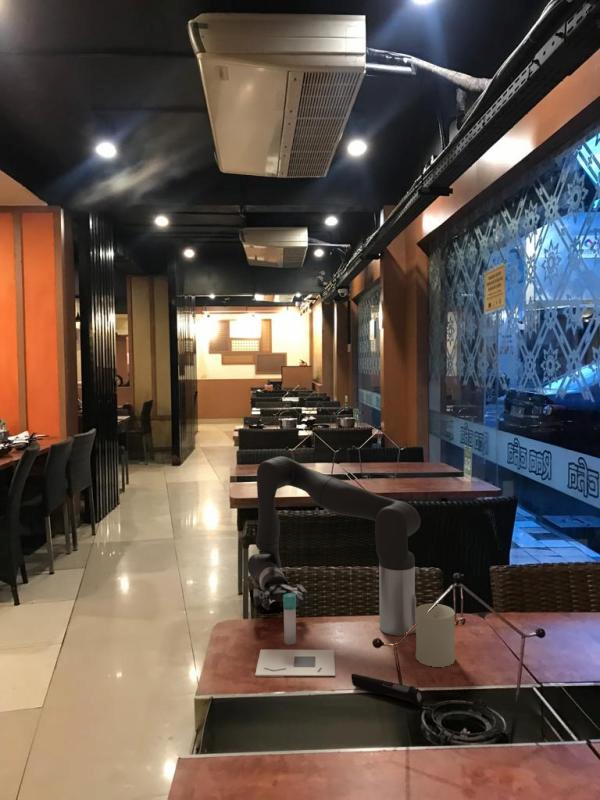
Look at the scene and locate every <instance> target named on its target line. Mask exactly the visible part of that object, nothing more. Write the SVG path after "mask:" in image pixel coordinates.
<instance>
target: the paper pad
mask: <svg viewBox="0 0 600 800" xmlns="http://www.w3.org/2000/svg"><path fill="white" fill-rule="evenodd" d="M259 650H260V651H259V655H258V656H259V657H258V660H257V665H256V669H255V670H256V671H255V675H254V676H255V677H284V676H335V677H336V671H335V670H336V667H335V650H334V649H259Z"/></svg>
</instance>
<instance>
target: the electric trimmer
mask: <svg viewBox="0 0 600 800" xmlns="http://www.w3.org/2000/svg"><path fill="white" fill-rule="evenodd" d="M350 675H351V683H352V685H353V686H354V687H356V688H358V689H361V690H364V691H365V692H368V693H371V694H375V695H377V696H382V695H385V696H389V697H391V698H394V699H395V698H396V699H399V700H403V701H405V702H410V703H412V705H413V706H414V707H417V706H421V704H422V702H423V700H424V696H423V693H422V692H421V690H420V689H419V687H417V688H415V687H414V685H409V686H408V685H404V684H400V683H396V682H392V681H387V680H384V679H380V678H379V679H378V678H374V677H370V676H367V675H366V676H365V675H361V674H357V673H351V674H350Z"/></svg>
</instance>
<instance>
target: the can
mask: <svg viewBox="0 0 600 800" xmlns="http://www.w3.org/2000/svg"><path fill="white" fill-rule="evenodd" d="M434 604H435V603H424V604H420V605H419V606H416V624H417V625H416V633H415V655H414V656H415V659H416V660H418V661H419V662H418V661H417V662H418V663H420V664H421V663H422V665H423V664H425V665H424V666H426V665H428V666H427V667H429V666H432V667H431V668H435V667H442V668H446V667H445V666H448V667H450V666H452V665H453V664H454V663H455V662H454V661H456V657H455V618H456V617H455V615H456V612H455V610H454V609H453V608H452V607H450V606H448V605H444V604H441V603H436V604H437V606H435V607H434V608H433V609H432V610H431V611H430V612H428V610H429V609H430V608H431V607H432V606H433V605H434ZM427 612H428V613H427ZM451 664H452V665H451ZM449 665H450V666H449Z"/></svg>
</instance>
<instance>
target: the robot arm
mask: <svg viewBox="0 0 600 800" xmlns="http://www.w3.org/2000/svg"><path fill="white" fill-rule="evenodd" d="M286 486H287V487H294V488H296V489H298V490H301V491H304V492H305V493H306V494H308V496H309V497H310V499H311V501H313V503H315V505H316V506H318V507H320V508H321V509H324V510H327V511H329V512H332V513H334V514H337V515H340V516H345V517H346V516H347V517H352V518H361V519H367V520H371V521H374V522H375V523H374V524H375V525H374V529H375V531H374V532H375V534H374V535H375V552H376V555H377V557H378V559H379V560H378V561H379V562H378V563H379V564H378V565H379V567H378V568H379V570H378V572H379V573H378V574H379V575H378V576H379V577H378V578H379V579H378V581H379V582H378V583H379V586H378V587H379V588H378V589H379V593H378V595H379V598H378V599H379V603H378V604H379V609H378V611H379V620H378V621H379V630H381V632H382V633H385V634H387V635H391V636H397V637H398V636H399V637H402V636H405V635H404V634H406V632H408V631H409V629H410V628H412V626H414V625H415V624H416V608H417V596H416V594H415V593H416V592H415V589H416V588H415V587H416V583H415V581H416V579H415V578H416V577H415V575H416V574H415V573H416V571H415V570H416V569H415V567H416V566H415V563H416V562H415V561H416V560H415V559H416V558H415V555H414V553H413V552H411V551H409V546H408V545H409V542H408V538H409V537H410V536H412V535H413V534H415V533H416V532H417V531H418V530H419V529H420V526H421V523H422V522H421V521H422V520H421V516H420V514H419V512H418V510H417V509H416V508H415V507H414V506H413V505H412V504H410V503H407V502H405V501H401V500H397V499H394V498H390V497H385V496H382V495H379V494H377V493H376V494H375V493H373V492H372V491H369V490H366V489H364V488H361V487H358V486H356V485H353V484H351V483H349V482H347V481H344V480H341V479H339V478H336V477H334V476H330V475H327V474H324V473H322V472H320V471H317V470H314V469H311V468H309V467H307V466H305V465H303V464H301V463H300V462H297V461H296V460H293V459H291V458H289V457H287V456H281V455H280V456H275V457H272V458H269V459H266V460H264V461H262V462H260V464H259V465H258V467H257V470H256V488H257V489H256V492H257V508H258V510H257V511H258V521H257V523H258V524H257V528H256V538H255V546H256V548H257V549H258V550H259V551H261V552H264V553H257V554H256V553H255V554H252V555H251V556H250V557H249V558H248V560H247V565H246V566H247V567H246V568H247V571H248V574H249V575H250V577H251V578H252V577H254V576H255V575H256V577H257V579H258V580H259V581H258V583H259V586H260V589H261V590H260V589H258V588H253V602H254V605H255V606H260V605H261V606H262V607H263V608H264V609H266V611H270V610H271V604H272V603H273V602H274V603H275V602H280V601H283V595H284V594H287V593H293V594H295V595H296V606H298V608H302V607H303V606H304V601H305V602H306V601H307V600H308V599H307V590H306V589H305V587H304V586H303V585H302V584H297V587H292V586H291V585H290V583H289V581H288V580H287V578H286V576H285V575H284V573H283V572H282V570H281V571H280V569H279V568H281V569H282V563H281V558H280V552H279V540H280V534H281V521H280V518H279V515H278V513H277V509H276V507H275V502H276V501H275V499H276V494H277V492H278V491H277V490H279V489H281V488H284V487H286ZM302 605H303V606H302ZM411 634H416V628H415V629H414V630H413V631H412V632H411V633H410V634H409V635H411Z"/></svg>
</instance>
